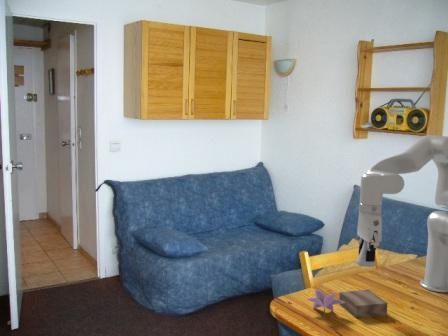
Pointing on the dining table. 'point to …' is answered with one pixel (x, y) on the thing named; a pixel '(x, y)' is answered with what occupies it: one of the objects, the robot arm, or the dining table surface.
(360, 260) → the flask
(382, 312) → the walnut block
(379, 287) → the dining table surface
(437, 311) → the dining table surface
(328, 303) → the lily
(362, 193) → the robot arm
